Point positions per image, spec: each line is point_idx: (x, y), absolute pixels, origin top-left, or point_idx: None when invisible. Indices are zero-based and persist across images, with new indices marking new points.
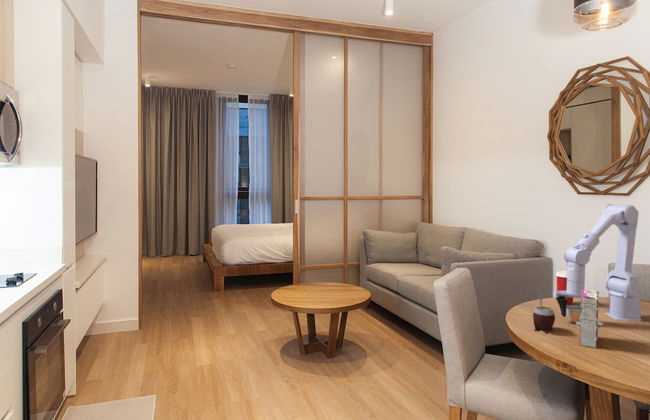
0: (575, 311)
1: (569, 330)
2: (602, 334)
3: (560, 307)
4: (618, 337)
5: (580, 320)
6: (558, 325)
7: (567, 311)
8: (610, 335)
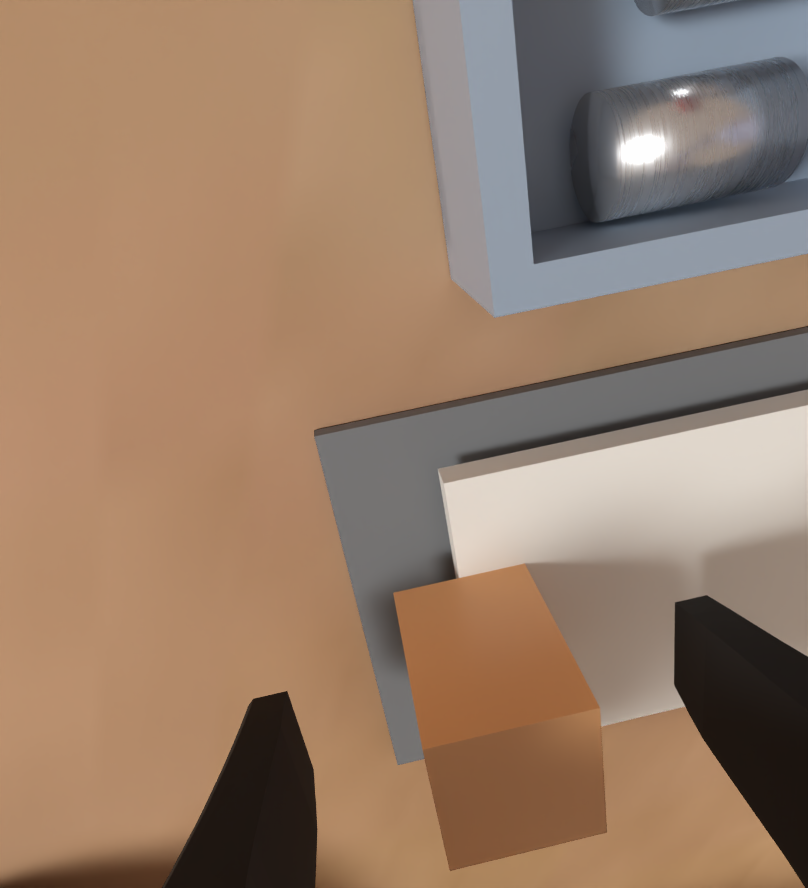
0: (522, 841)
1: (321, 851)
2: (664, 839)
3: (195, 871)
4: (783, 860)
5: (571, 623)
6: (200, 731)
7: (471, 233)
8: (735, 837)
